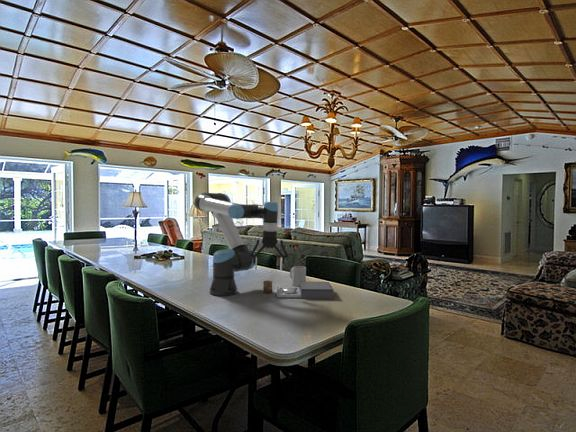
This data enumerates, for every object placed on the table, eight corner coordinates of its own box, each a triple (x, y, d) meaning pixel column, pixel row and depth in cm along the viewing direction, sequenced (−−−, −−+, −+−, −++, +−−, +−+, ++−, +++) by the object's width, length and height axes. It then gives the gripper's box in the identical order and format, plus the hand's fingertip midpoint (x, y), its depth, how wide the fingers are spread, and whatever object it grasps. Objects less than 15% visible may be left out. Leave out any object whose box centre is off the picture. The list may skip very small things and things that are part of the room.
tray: (276, 297, 181) (277, 289, 181) (277, 289, 197) (277, 282, 197) (308, 297, 181) (308, 290, 181) (306, 290, 197) (306, 283, 197)
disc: (281, 293, 185) (281, 290, 185) (282, 290, 193) (282, 287, 193) (296, 293, 185) (296, 291, 185) (296, 290, 193) (296, 287, 193)
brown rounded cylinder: (263, 293, 190) (263, 282, 190) (263, 290, 195) (263, 280, 195) (272, 293, 190) (272, 282, 190) (272, 290, 195) (272, 280, 195)
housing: (301, 298, 180) (301, 289, 180) (299, 290, 198) (299, 281, 198) (333, 298, 181) (333, 289, 181) (328, 290, 199) (328, 281, 199)
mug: (308, 285, 211) (308, 267, 210) (298, 287, 205) (299, 269, 205) (295, 281, 219) (295, 264, 219) (285, 283, 214) (285, 266, 213)
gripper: (246, 230, 178) (245, 270, 179) (294, 232, 181) (292, 271, 182) (246, 229, 186) (245, 267, 187) (292, 230, 189) (290, 268, 190)
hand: (268, 269), depth 185 cm, fingers open, 13 cm apart
